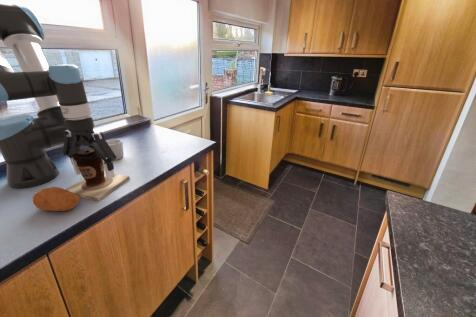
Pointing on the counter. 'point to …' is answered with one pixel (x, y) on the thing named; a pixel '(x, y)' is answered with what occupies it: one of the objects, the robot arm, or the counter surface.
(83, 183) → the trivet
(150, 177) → the counter surface
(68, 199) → the potato
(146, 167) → the counter surface
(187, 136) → the counter surface
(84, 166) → the coffee cup
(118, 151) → the cup
